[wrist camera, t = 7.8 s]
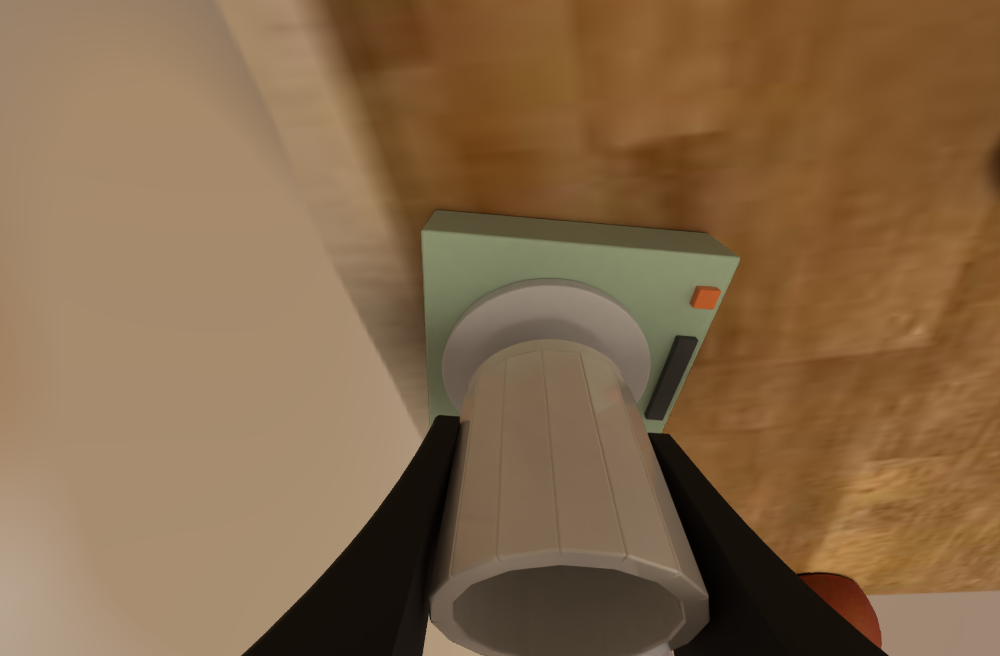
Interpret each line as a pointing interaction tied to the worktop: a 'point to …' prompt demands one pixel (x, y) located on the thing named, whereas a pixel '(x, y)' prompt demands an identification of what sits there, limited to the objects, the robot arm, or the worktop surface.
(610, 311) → the kitchen scale
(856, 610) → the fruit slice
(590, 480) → the white hollow cylinder
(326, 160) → the worktop surface
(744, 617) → the robot arm
